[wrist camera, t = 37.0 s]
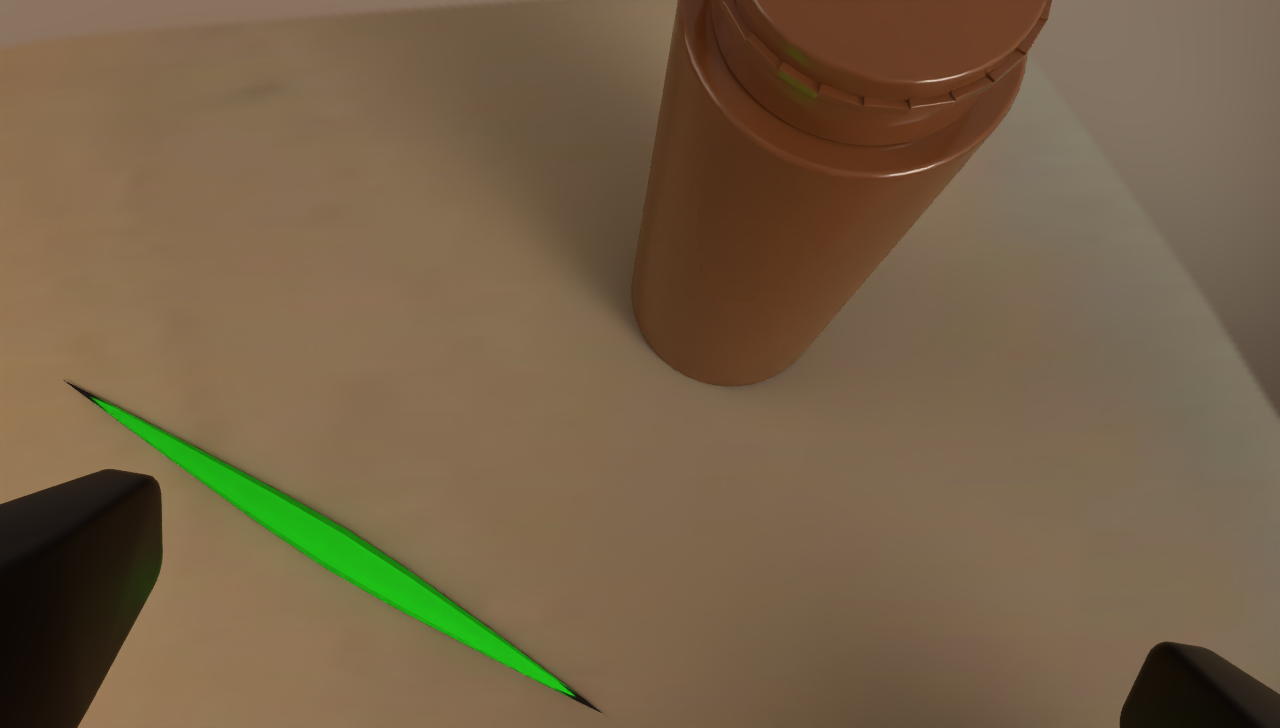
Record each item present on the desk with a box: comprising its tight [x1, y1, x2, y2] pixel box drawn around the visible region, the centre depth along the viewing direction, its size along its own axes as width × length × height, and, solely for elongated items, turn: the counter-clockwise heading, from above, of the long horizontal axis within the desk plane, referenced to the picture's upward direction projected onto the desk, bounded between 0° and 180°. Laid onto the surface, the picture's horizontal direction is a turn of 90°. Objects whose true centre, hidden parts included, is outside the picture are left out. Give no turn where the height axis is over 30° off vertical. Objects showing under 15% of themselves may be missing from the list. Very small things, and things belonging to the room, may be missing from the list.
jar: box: [631, 0, 1052, 386], centre depth 17 cm, size 5×5×12 cm
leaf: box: [65, 381, 602, 713], centre depth 21 cm, size 1×14×1 cm, turn 60°
